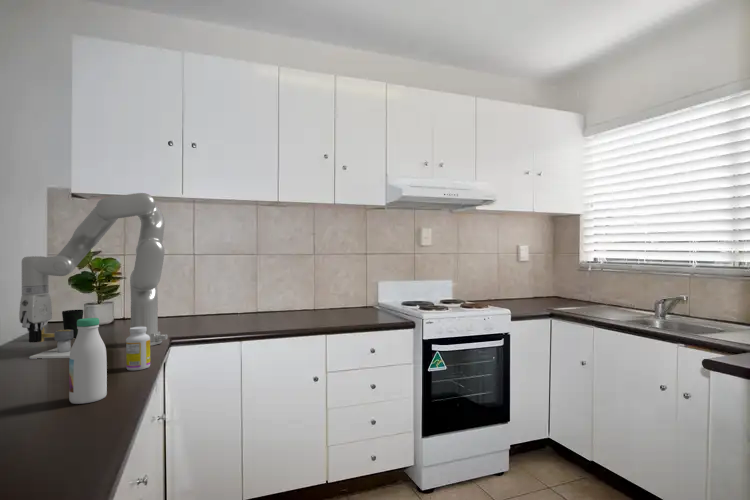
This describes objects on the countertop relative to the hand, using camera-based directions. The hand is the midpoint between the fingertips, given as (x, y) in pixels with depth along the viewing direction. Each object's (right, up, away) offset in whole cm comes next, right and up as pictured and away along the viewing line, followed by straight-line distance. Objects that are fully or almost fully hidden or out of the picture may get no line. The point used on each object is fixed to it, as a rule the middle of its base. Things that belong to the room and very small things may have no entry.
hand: (35, 341), depth 150 cm
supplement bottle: (+47, -5, -18) cm, 50 cm away
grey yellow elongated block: (+4, -1, +4) cm, 6 cm away
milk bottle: (+50, -4, -46) cm, 68 cm away
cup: (-10, -6, +33) cm, 35 cm away
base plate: (+8, -5, +4) cm, 10 cm away
